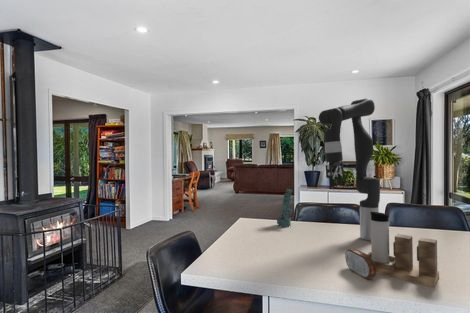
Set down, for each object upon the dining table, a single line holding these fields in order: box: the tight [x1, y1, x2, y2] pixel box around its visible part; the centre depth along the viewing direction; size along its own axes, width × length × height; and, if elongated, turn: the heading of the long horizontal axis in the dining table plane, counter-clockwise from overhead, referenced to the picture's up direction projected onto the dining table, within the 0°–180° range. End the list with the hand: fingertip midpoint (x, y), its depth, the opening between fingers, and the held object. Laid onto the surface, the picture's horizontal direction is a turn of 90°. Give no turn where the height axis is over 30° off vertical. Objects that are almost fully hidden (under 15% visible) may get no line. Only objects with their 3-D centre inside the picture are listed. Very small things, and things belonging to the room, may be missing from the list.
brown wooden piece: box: [366, 233, 440, 288], centre depth 106 cm, size 24×11×14 cm, turn 47°
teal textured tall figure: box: [276, 188, 294, 228], centre depth 181 cm, size 14×10×25 cm
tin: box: [344, 247, 377, 280], centre depth 105 cm, size 15×3×8 cm, turn 12°
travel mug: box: [370, 212, 390, 264], centre depth 110 cm, size 6×7×20 cm
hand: (336, 186), depth 131 cm, fingers open, 8 cm apart
